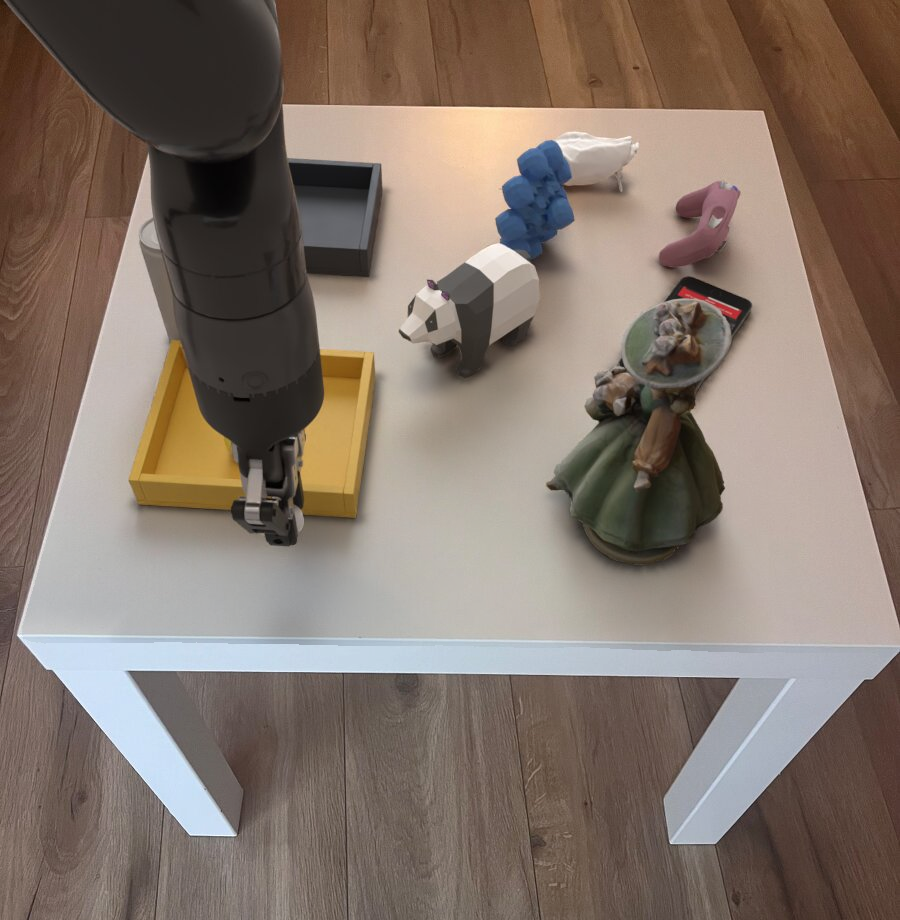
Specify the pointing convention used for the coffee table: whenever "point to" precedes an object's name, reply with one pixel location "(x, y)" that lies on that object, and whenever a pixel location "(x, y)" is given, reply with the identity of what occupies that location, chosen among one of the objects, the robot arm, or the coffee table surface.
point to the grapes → (536, 200)
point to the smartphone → (725, 301)
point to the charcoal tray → (337, 213)
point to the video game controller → (703, 224)
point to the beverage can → (158, 276)
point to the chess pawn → (297, 516)
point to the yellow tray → (212, 465)
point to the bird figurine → (595, 156)
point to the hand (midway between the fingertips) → (285, 522)
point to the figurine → (649, 438)
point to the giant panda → (476, 306)
